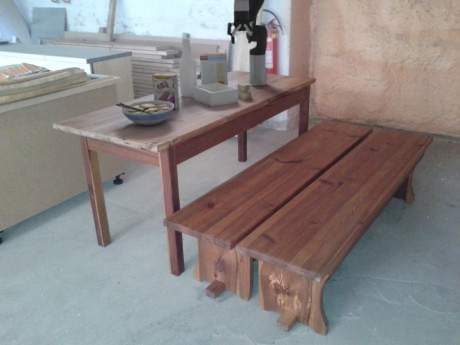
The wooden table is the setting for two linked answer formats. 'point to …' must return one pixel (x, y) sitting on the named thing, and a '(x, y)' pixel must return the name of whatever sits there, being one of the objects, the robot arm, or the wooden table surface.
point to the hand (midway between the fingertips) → (241, 43)
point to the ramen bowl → (147, 111)
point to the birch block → (244, 90)
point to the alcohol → (187, 70)
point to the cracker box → (213, 68)
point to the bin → (215, 94)
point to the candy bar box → (166, 88)
